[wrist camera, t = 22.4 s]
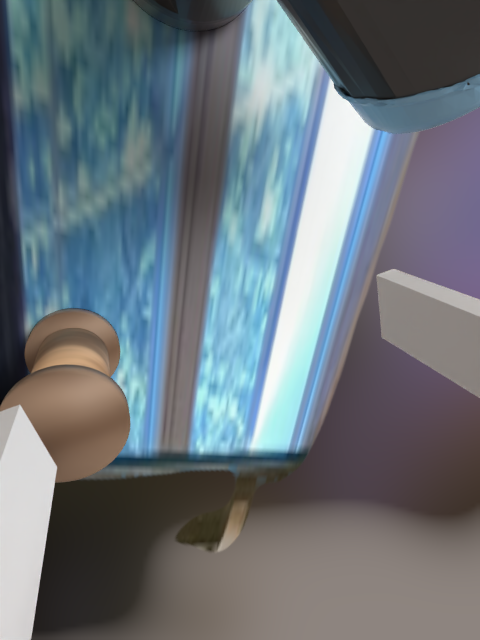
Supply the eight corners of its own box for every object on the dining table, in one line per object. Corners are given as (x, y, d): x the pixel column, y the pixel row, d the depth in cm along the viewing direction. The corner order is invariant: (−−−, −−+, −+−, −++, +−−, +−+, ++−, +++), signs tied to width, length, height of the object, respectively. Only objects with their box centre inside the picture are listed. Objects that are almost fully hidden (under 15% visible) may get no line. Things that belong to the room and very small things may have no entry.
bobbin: (9, 327, 39) (-35, 406, 25) (99, 295, 41) (102, 354, 27) (51, 399, 42) (31, 501, 29) (131, 367, 44) (147, 449, 31)
